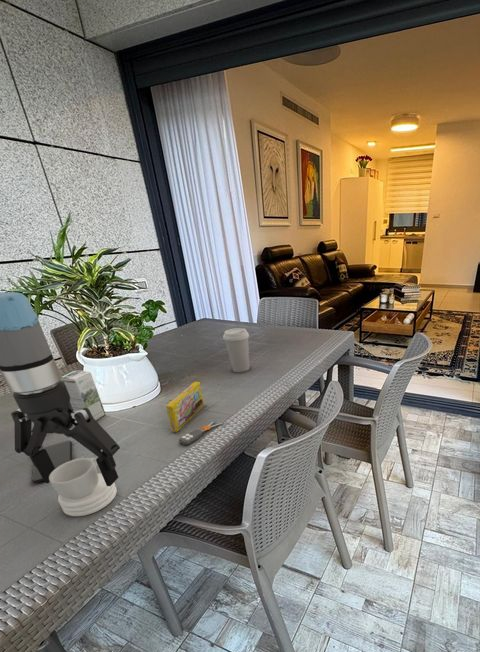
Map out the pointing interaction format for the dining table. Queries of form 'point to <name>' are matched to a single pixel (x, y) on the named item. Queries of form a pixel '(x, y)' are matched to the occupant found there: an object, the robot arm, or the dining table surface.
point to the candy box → (185, 406)
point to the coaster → (89, 500)
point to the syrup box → (83, 393)
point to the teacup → (75, 478)
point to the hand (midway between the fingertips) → (82, 480)
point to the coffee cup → (237, 348)
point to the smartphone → (55, 457)
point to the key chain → (195, 434)
